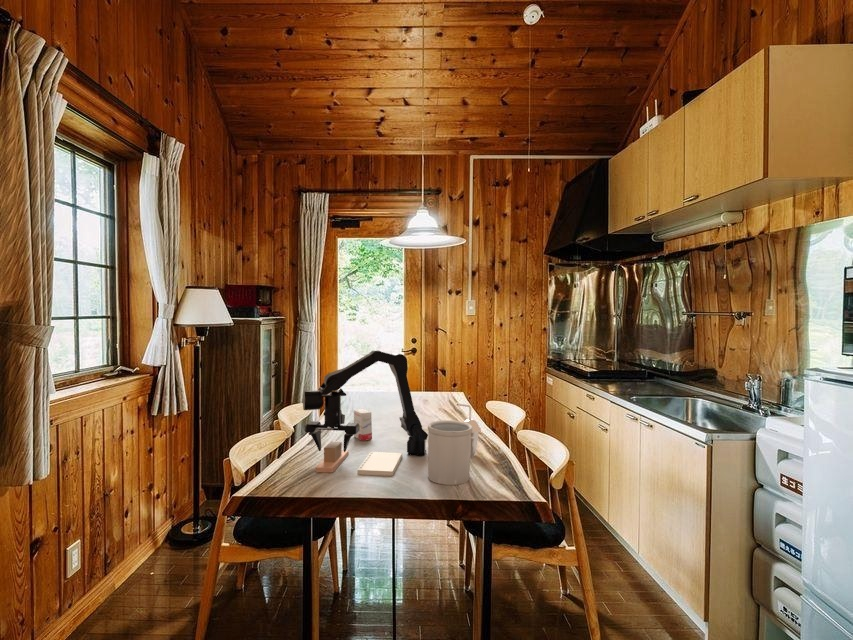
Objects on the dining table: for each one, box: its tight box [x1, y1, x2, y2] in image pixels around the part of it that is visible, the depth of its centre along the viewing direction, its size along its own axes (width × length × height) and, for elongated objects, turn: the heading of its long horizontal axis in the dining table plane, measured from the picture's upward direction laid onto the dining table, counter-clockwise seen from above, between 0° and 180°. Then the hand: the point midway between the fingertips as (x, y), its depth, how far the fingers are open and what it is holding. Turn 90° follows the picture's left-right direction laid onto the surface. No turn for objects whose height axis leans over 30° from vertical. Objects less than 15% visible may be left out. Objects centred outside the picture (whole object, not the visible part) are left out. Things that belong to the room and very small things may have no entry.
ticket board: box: [357, 451, 403, 477], centre depth 167 cm, size 12×20×2 cm, turn 174°
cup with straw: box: [456, 403, 482, 458], centre depth 179 cm, size 8×9×20 cm
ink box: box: [353, 408, 373, 441], centre depth 201 cm, size 9×5×12 cm, turn 33°
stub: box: [314, 440, 350, 474], centre depth 169 cm, size 6×20×6 cm, turn 174°
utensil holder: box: [427, 419, 472, 486], centre depth 155 cm, size 15×15×18 cm
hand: (332, 451), depth 169 cm, fingers open, 9 cm apart
